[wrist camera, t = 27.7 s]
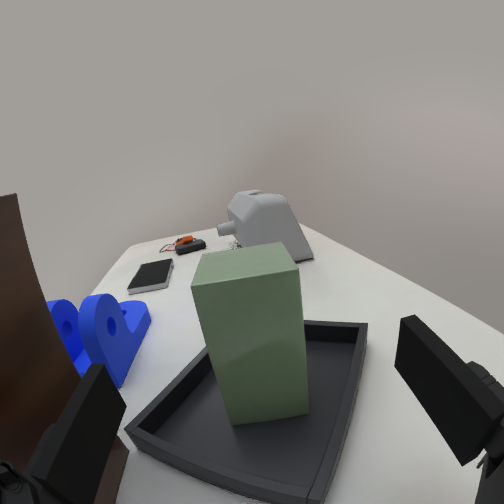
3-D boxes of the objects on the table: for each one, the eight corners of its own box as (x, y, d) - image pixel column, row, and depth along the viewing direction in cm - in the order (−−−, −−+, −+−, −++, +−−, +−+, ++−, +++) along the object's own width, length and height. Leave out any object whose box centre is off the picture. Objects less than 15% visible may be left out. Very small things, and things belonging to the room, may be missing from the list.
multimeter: (159, 245, 86) (156, 234, 85) (196, 236, 89) (194, 225, 88) (160, 260, 69) (157, 246, 68) (206, 248, 72) (204, 235, 71)
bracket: (120, 387, 25) (86, 312, 22) (62, 385, 25) (28, 317, 22) (156, 309, 42) (140, 254, 40) (110, 315, 42) (93, 263, 39)
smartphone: (125, 289, 49) (140, 264, 63) (127, 295, 50) (141, 269, 64) (166, 282, 50) (173, 257, 64) (168, 288, 51) (174, 262, 65)
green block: (231, 425, 19) (190, 285, 16) (231, 377, 25) (201, 254, 21) (309, 413, 19) (298, 268, 16) (296, 367, 25) (282, 241, 21)
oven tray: (136, 447, 17) (123, 428, 17) (240, 332, 33) (236, 313, 32) (319, 514, 11) (320, 501, 10) (366, 343, 27) (368, 322, 26)
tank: (217, 245, 74) (209, 197, 71) (277, 233, 77) (271, 186, 73) (231, 278, 50) (218, 207, 47) (315, 259, 53) (308, 192, 49)
